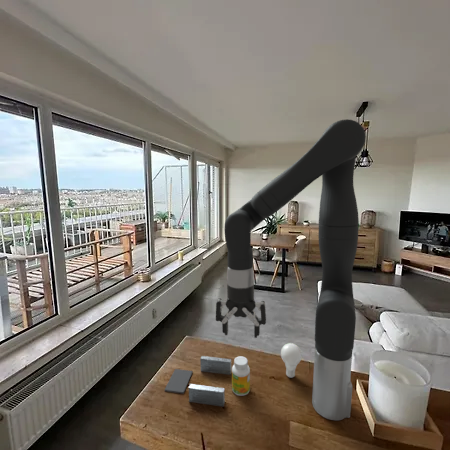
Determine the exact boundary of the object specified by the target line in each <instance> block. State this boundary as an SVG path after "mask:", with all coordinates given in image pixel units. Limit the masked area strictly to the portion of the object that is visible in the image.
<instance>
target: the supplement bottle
mask: <svg viewBox="0 0 450 450" xmlns="http://www.w3.org/2000/svg"><path fill="white" fill-rule="evenodd" d="M248 362H249V361H248V358H247V357H245V356H241V355H239V356H237V357H236V356H235V358H234V360H233V364H232V366H231V389H232V393H234V394H235V395H236V396H240V397H242V396H247V395H248V394H249V392H250V390H251V370H250V366H249V363H248Z"/></svg>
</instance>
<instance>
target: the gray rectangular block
mask: <svg viewBox="0 0 450 450" xmlns="http://www.w3.org/2000/svg"><path fill="white" fill-rule="evenodd" d="M192 375H193V370H187V369H178V368H175V369H174V370H173V372H172V374H171V376H170V378H169V380H168V381H167V384H166V386H165V387H164V392H169V393H175V394H181V395H182V394H183V395H184V394H185V392H186V389H187V386H188V384H189V382H190V379H191V378H192Z"/></svg>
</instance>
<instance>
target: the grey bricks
mask: <svg viewBox="0 0 450 450" xmlns="http://www.w3.org/2000/svg"><path fill="white" fill-rule="evenodd" d="M199 360H200V372H204V373H211V374H222V375H229V376H230V375H231V376H232V358H224V357H223V358H222V357H215V356H207V355H206V356H205V355H201V357H200V359H199ZM225 400H226V399H225V388H224V387H218V386H217V387H216V386H208V385H203V384H202V385H201V384H195V383H189V386H188V402H189V403H195V404H196V403H197V404H202V405H208V406H209V405H211V406H217V407H225V403H226V402H225Z"/></svg>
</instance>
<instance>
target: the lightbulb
mask: <svg viewBox="0 0 450 450" xmlns="http://www.w3.org/2000/svg"><path fill="white" fill-rule="evenodd" d="M280 357H281V359H282V361H283V363H284V365H285V368H286V370H285V375H286V376H287V377H288V378H294V377H295V376H296V368H297V366H298V364H300V362H301V360H302V357H303V355H302V351H301V348H300V347H299V346H298V345H296V343H292V342H289V343H286V344H284V345H283V346H282V347H281V349H280Z"/></svg>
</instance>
